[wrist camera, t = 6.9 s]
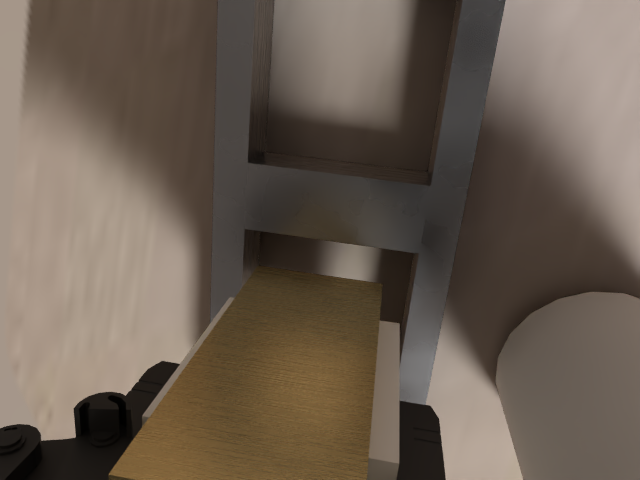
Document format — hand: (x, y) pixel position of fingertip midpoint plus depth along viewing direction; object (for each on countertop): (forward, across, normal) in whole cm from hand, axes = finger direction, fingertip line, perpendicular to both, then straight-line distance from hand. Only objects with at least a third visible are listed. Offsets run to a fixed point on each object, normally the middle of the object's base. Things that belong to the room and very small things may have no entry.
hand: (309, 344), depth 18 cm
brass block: (+1, 0, 0) cm, 1 cm away
